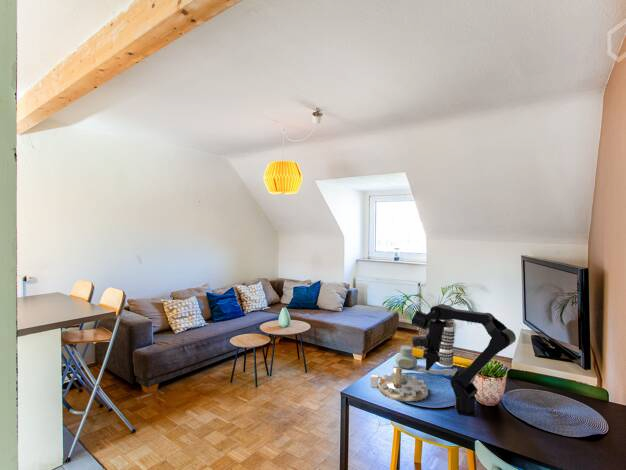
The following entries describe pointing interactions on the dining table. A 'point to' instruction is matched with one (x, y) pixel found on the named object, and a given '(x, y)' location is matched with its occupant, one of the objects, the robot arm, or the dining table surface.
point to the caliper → (440, 371)
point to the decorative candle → (447, 346)
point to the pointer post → (374, 380)
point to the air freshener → (406, 358)
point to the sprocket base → (402, 398)
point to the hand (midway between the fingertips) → (427, 370)
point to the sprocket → (402, 383)
